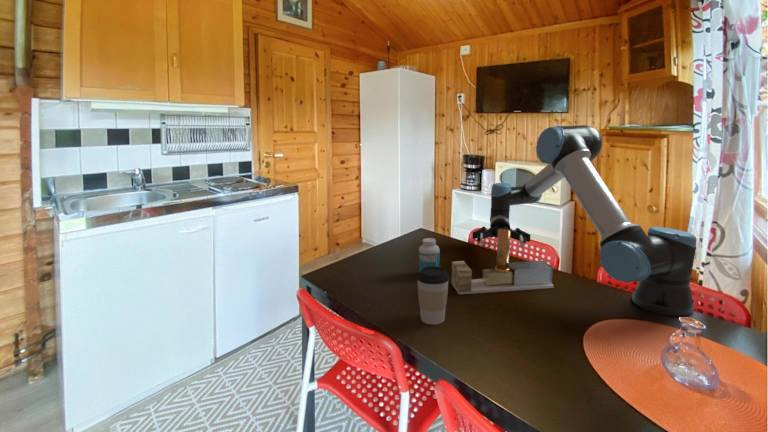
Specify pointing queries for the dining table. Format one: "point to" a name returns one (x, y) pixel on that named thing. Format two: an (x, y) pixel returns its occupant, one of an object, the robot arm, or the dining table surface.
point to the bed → (499, 287)
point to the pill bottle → (429, 254)
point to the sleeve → (531, 273)
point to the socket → (461, 276)
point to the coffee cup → (432, 294)
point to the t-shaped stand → (500, 262)
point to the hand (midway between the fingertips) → (501, 243)
